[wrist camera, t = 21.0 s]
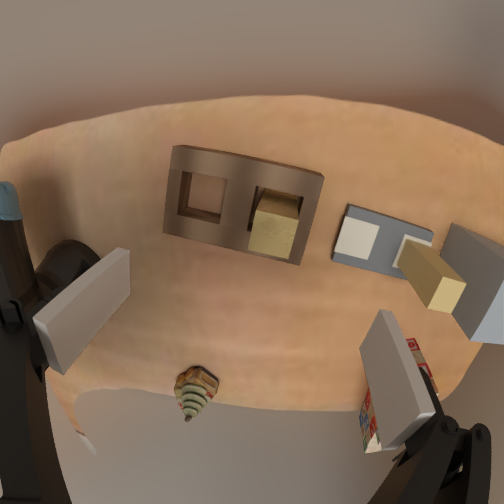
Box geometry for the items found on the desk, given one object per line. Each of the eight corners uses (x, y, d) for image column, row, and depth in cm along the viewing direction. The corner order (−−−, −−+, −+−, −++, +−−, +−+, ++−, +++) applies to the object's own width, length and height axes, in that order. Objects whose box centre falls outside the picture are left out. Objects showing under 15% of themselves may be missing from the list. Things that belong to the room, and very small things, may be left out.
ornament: (200, 394, 48) (186, 435, 38) (174, 377, 47) (155, 418, 37) (225, 379, 45) (212, 424, 36) (196, 360, 44) (178, 405, 34)
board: (329, 256, 33) (343, 308, 23) (346, 202, 30) (372, 235, 20) (411, 277, 33) (445, 327, 23) (431, 230, 30) (476, 268, 20)
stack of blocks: (386, 412, 45) (396, 461, 33) (358, 416, 46) (364, 466, 34) (414, 336, 37) (440, 394, 25) (379, 341, 38) (398, 403, 26)
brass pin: (259, 217, 33) (247, 249, 23) (266, 188, 31) (256, 210, 22) (288, 224, 32) (288, 259, 23) (296, 195, 31) (298, 220, 22)
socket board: (174, 223, 34) (162, 232, 31) (184, 145, 30) (173, 146, 27) (298, 253, 34) (299, 265, 31) (320, 173, 30) (324, 177, 26)
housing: (427, 282, 33) (469, 340, 21) (452, 222, 29) (510, 264, 17) (485, 298, 32) (525, 346, 20) (508, 248, 29) (557, 288, 17)
